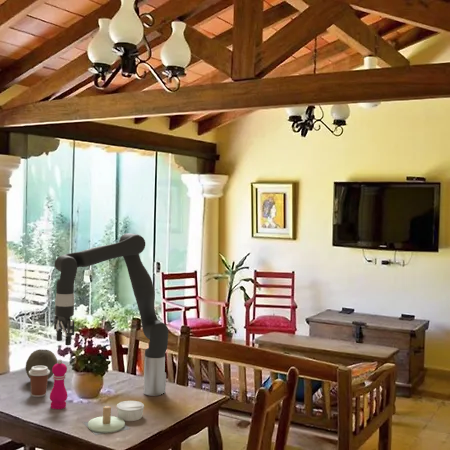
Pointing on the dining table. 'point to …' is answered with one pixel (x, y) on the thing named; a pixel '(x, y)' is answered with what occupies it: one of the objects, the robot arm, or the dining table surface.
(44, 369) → the coffee cup
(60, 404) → the pepper mill
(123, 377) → the dining table surface
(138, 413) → the ramekin
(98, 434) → the mat
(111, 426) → the lid
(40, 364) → the cantaloupe
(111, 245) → the robot arm
